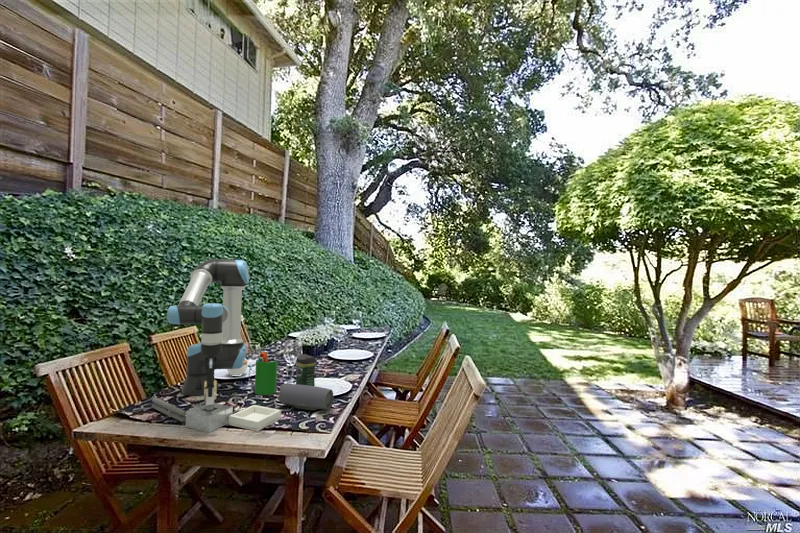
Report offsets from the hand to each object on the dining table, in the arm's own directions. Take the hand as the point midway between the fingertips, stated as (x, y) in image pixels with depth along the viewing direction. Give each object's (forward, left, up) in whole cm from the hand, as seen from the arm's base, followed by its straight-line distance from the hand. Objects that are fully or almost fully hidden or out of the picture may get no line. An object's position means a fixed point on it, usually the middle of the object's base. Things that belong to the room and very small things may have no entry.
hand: (210, 402), depth 161 cm
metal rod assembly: (-22, 0, -9) cm, 24 cm away
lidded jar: (-40, +57, -9) cm, 70 cm away
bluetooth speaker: (+23, +32, -9) cm, 40 cm away
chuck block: (0, 0, -9) cm, 9 cm away
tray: (+14, +10, -9) cm, 19 cm away
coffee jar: (+10, +50, -9) cm, 52 cm away
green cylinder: (-7, +41, -9) cm, 42 cm away
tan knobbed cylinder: (0, 0, -8) cm, 8 cm away
